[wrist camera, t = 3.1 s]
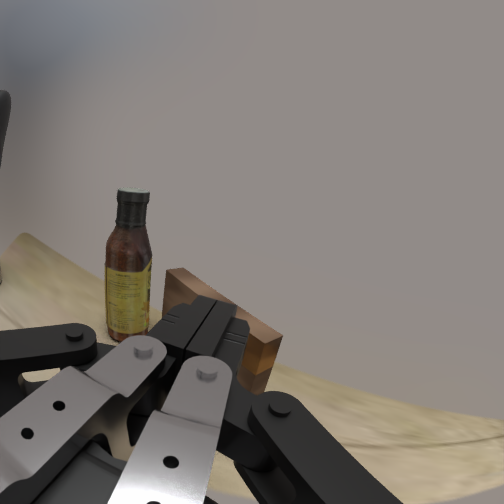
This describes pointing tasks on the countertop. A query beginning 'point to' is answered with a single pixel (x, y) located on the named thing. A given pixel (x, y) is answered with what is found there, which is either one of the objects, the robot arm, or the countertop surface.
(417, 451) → the countertop surface
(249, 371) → the brown wooden block
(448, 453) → the countertop surface
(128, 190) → the sauce bottle
